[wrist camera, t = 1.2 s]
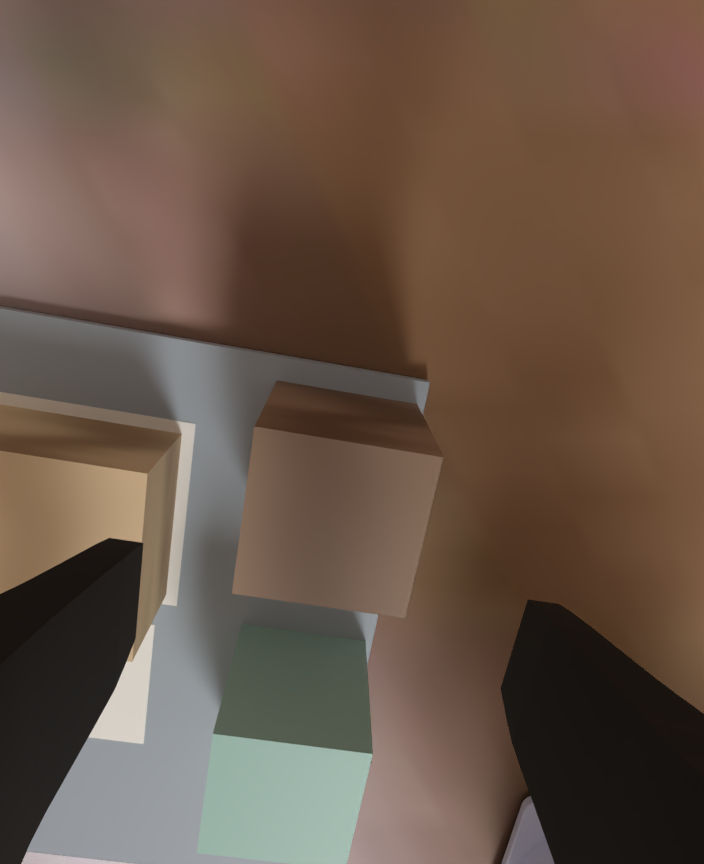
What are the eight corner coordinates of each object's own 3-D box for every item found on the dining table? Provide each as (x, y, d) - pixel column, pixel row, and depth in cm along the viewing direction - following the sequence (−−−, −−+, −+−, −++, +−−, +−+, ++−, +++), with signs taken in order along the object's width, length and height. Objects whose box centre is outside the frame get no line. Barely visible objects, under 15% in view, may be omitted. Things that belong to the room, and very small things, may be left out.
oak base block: (181, 433, 19) (147, 473, 15) (166, 595, 21) (132, 661, 17) (-11, 402, 18) (-88, 436, 15) (-10, 569, 20) (-80, 633, 17)
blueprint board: (428, 380, 19) (429, 383, 18) (318, 874, 25) (318, 884, 25) (-54, 296, 18) (-63, 297, 17) (-41, 834, 24) (-48, 844, 24)
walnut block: (417, 404, 19) (443, 457, 14) (389, 530, 20) (405, 618, 15) (276, 380, 18) (254, 426, 14) (258, 509, 20) (231, 593, 15)
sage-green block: (365, 640, 21) (372, 754, 17) (344, 738, 23) (345, 869, 18) (242, 623, 21) (212, 733, 16) (227, 723, 22) (196, 853, 18)
